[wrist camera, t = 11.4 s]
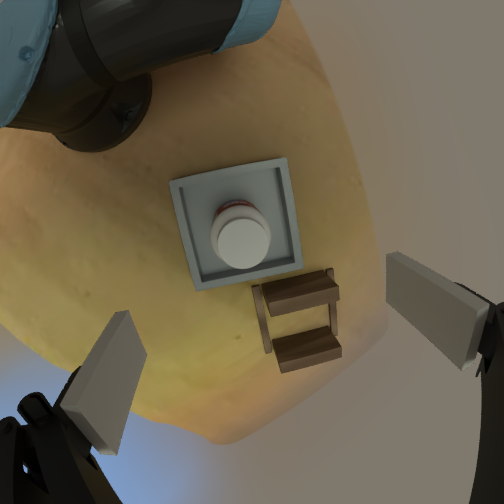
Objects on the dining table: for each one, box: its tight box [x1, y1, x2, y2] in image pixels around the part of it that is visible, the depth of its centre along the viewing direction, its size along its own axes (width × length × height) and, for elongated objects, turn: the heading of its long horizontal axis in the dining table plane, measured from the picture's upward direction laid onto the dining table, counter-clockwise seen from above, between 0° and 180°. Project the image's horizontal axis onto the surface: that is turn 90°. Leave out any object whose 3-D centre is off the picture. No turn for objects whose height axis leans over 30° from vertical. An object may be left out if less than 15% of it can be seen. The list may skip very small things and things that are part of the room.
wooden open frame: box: [252, 268, 342, 374], centre depth 38 cm, size 12×12×6 cm
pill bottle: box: [210, 199, 271, 269], centre depth 31 cm, size 6×6×11 cm
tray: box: [169, 158, 304, 291], centre depth 35 cm, size 14×14×3 cm
